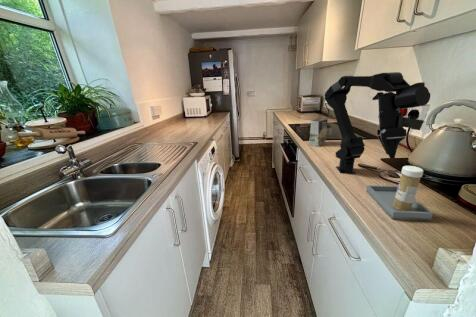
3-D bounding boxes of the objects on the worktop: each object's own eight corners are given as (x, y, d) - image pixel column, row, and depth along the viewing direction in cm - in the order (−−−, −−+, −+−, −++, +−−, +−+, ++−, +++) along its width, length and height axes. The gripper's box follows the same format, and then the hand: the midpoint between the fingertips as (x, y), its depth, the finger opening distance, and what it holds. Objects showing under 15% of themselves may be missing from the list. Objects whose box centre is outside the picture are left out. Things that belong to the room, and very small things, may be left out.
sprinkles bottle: (389, 203, 63) (399, 164, 59) (405, 204, 62) (417, 165, 58) (396, 212, 59) (408, 171, 54) (414, 213, 58) (428, 171, 53)
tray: (366, 191, 72) (367, 185, 71) (396, 192, 71) (397, 186, 70) (391, 219, 57) (393, 211, 57) (430, 220, 56) (433, 213, 55)
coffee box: (317, 146, 124) (320, 121, 119) (308, 144, 129) (310, 120, 123) (325, 143, 130) (328, 119, 124) (316, 142, 134) (318, 118, 129)
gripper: (429, 105, 55) (429, 160, 57) (413, 108, 71) (414, 151, 73) (380, 111, 61) (382, 161, 63) (375, 113, 77) (377, 153, 79)
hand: (390, 156), depth 69 cm, fingers open, 9 cm apart
